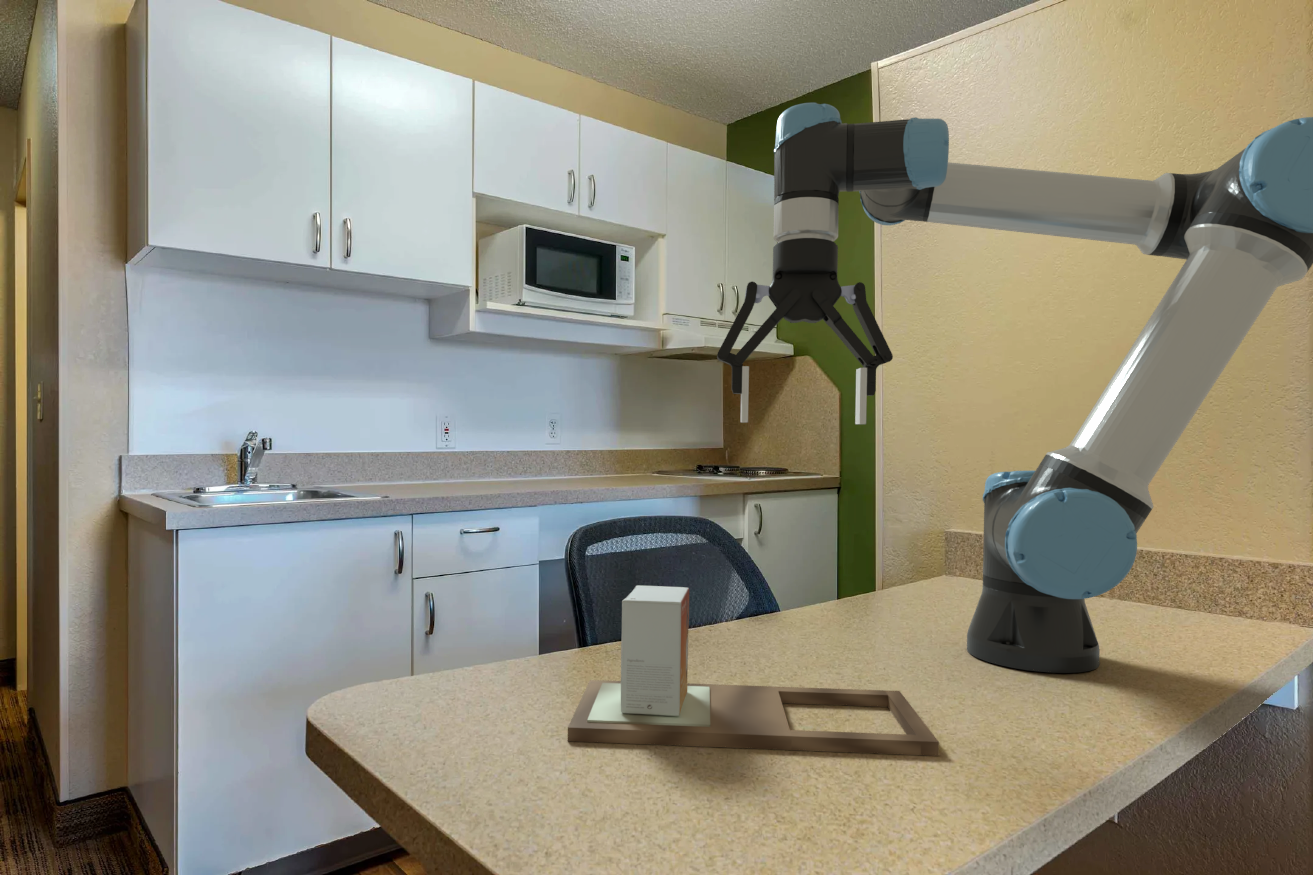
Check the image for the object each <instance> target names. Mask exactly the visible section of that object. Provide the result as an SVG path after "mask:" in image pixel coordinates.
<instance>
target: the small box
mask: <svg viewBox="0 0 1313 875" xmlns="http://www.w3.org/2000/svg"><path fill="white" fill-rule="evenodd" d="M689 620H690V588H689V587H683V586H665V585H664V586H661V585H659V586H658V585H635V587H634V588H633V590H632V591H631V592H630V593H629V594H628V595H627V596H626V597H625V598H624V599H622V601H621V643H620V644H621V645H620V646H621V647H620V648H621V652H620V654H621V655H620V661H621V662H620V681H621V713H630V714H648V715H667V716H679V715H680V712H681V708H682V705H683V702H684V699H685V696H686V694H687V683H688V669H689V666H688V665H689V664H688V663H689V662H688V660H689V624H690V623H689V622H690V621H689Z"/></svg>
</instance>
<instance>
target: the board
mask: <svg viewBox="0 0 1313 875" xmlns="http://www.w3.org/2000/svg"><path fill="white" fill-rule="evenodd" d="M783 704H794V705H795V704H797V705H801V704H802V705H821V706H823V705H827V706H851V707H853V706H855V707H856V706H857V707H877V708H878V707H880V708H883V707H884V708H885V707H886V708H888V709H889V711H890V712H891V714H892V715H893V717H894V718H895V720H896V721H897V722H898V724H899V725H900V727H901V729H902V730H903V731H904V733H905V734H903V733H901V734H900V733H876V732H856V731H855V732H852V731H851V732H850V731H826V730H825V731H824V730H823V731H822V730H799V729H790V726H789V723H788V719H787V715H786V713H785V712H786V711H785V709H784V706H783ZM567 742H578V743H579V742H580V743H583V742H584V743H603V744H604V743H607V744H608V743H609V744H610V743H611V744H629V745H630V744H632V745H636V744H637V745H652V746H653V745H656V746H657V745H658V746H679V747H680V746H682V747H704V748H705V747H706V748H731V749H732V748H733V749H752V750H753V749H758V750H759V749H760V750H779V751H781V750H782V751H804V752H805V751H807V752H831V753H832V752H833V753H853V754H855V753H856V754H857V753H858V754H859V753H860V754H878V755H880V754H881V755H884V754H885V755H903V756H905V755H908V756H909V755H910V756H929V757H931V756H932V757H934V756H935V757H939V756H940V755H939V753H940V752H939V751H940V747H939V746H940V745H939V744H940V742H939V740H938V739H937V738H936V736H935V735H934V734H933V733H932V731H931V730H930V729H929V727H928V726H927V725H926V723H925V722H924V720H922V718H921V716H919V713H917V712H916V710H915V709H914V707H913V706H912V705H911V704H910V702H909V701H908V700H907V698H906V697H905V696H904V695H903V693H902V692H901V690H882V689H881V690H878V689H854V688H853V689H852V688H826V687H825V688H824V687H823V688H822V687H797V686H796V687H795V686H794V687H793V686H773V685H772V686H770V685H769V686H767V685H764V686H763V685H744V684H743V685H741V684H740V685H739V684H719V683H717V684H713V683H688V682H687V694H686V696H685V699H684V702H683V705H682V708H681V712H680V715H679V716H667V715H648V714H630V713H621V680H606V679H605V680H603V679H602V680H601V679H600V680H599V679H589V681H588V683H587V686H586V687H585V689H584V691H583V694H582V696H581V699H580V700H579V702H578V705H577V706H576V709H575V711H574V713H573V715H572V717H571V720H570V722H569V724H568V725H567Z"/></svg>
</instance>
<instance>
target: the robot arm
mask: <svg viewBox="0 0 1313 875" xmlns="http://www.w3.org/2000/svg"><path fill="white" fill-rule="evenodd" d="M842 122H843V121H842V119H841V114H840V111H839V110H838V109H837V108H836V107H835V106H833V105H831V104H828V103H821V104H820V103H817V102H804V103H799V104H795V105H792V106H790V107H788V108H787V109H785V110H784V111H782V113H781V114H780V115H779V117H778V118H777V122H776V129H775V130H776V131H775V144H774V149H773V155H774V156H773V158H774V159H773V161H774V164H773V165H774V169H773V170H774V176H773V178H774V180H773V181H774V184H773V185H774V187H773V190H774V191H773V192H774V195H773V196H774V197H773V201H774V202H773V240H774V241H775V242H776V243H775V245H774V246H773V247H772V280H771V284H770V285H765V284H757V283H756V282H755V281H749V282H748V283H747V285H746V288H745V294H744V301H743V304H742V306H741V307H740V308H739V311H738V313H737V315H736V317H735V319H734V321H733V323H732V325H731V326H730V329H729V330H728V332H727V334H726V337H725V338H724V340H723V342H722V344H721V346H720V348H719V350H718V352H717V356H716V358H717V360H718V362H722V363H724V364H727V365H729V366H730V367H731V391H732V394H735V395H740V423H749V395H750V394H749V393H750V392H749V391H750V390H749V388H750V387H749V384H750V382H749V381H750V379H749V378H750V377H749V376H750V366H747V365H745V366H744V365H743V364H744V362H745V361H746V360H747V359H748V358H749V356H751V354H753V352H754V351H755V350H756V348H758V347H759V345H760V344H761V343H762V342H763V341H764V340H765V339H766V337H767V336H768V335H769V334H770V333H771V332H772V331H773V329H774V328H775V327H776V326H778V324H779V323H780V322H781V321H782V319H784V320H785V321H787V322H789V323H791V324H797V323H801V322H805V323H808V324H816V323H818V322H821V321H822V320H823V321H824V323H825V324H826V325H827V327H830V328H831V330H832V331H833V332H834V333H835V335H836V336H837V337H838V338H839V340H840V341H841V342H842V343H843V344H844V345H845V346H846V348H847V349H848V350H849V351H850V352H851V353H852V355H853V357H855V358H856V360H857V361H858V362H859V363H860V364H861V365H862V367H859V368H856V369H855V370H856V371H855V410H854V411H855V412H854V416H855V418H854V419H855V420H854V424H855V425H867V405H868V404H867V403H868V402H867V399H868V398H867V397H872V396H874V395H875V393H876V392H877V388H876V385H877V369H878V367H879V366H882V365H884V364H887V363H889V362H891V361H892V360H893V357H894V356H893V353H892V350H891V349H890V347H889V344H888V342H887V341H886V339H885V337H884V334H883V332H882V331H881V328H880V326H879V324H878V321H877V320H876V318H875V315H874V313H873V312H872V309H871V308H870V306H869V304H868V301H867V293H866V285H865V283H863V282H861V281H860V282H857V283H855V284H854V285H852V284H851V285H843V286H841V285H840V283H839V280H838V265H839V264H838V263H839V262H838V261H839V260H838V257H839V256H838V255H839V254H838V252H839V251H838V250H839V246H838V244H837V243H836V242H835V241H836V240H837V239H838V238H839V196H840V195H839V194H840V192H847V193H848V192H859V196H860V198H859V199H860V203H861V205H862V208H863V210H864V213H865V214H866V216H867V217H868V218H869V219H870V220H871V221H873V223H876V224H879V225H882V226H895V225H898V224H901V223H903V222H905V221H911V222H913V221H914V222H926V223H933V224H940V225H941V224H943V225H950V226H951V225H952V226H953V225H954V226H961V227H970V228H980V229H988V230H997V231H1004V232H1005V231H1006V232H1007V231H1008V232H1016V233H1024V234H1026V233H1027V234H1034V235H1035V234H1036V235H1043V236H1052V237H1061V238H1070V239H1080V240H1090V241H1098V242H1099V241H1100V242H1107V243H1116V244H1117V243H1118V244H1126V245H1135V246H1137V248H1138V249H1139V251H1140V252H1141V253H1142V254H1143V255H1147V256H1155V257H1164V258H1171V259H1172V258H1173V259H1181V260H1185V262H1184V263H1183V264H1182V266H1181V268H1180V270H1179V271H1178V273H1177V275H1176V276H1175V277H1174V279H1173V281H1172V282H1171V284H1170V285H1169V287H1168V289H1167V290H1166V292H1165V294H1164V295H1163V297H1162V298H1161V300H1160V301H1159V303H1158V305H1157V306H1156V307H1155V309H1154V311H1153V312H1152V313H1151V316H1150V317H1149V318H1148V320H1147V321H1146V324H1145V325H1144V327H1143V328H1142V330H1141V331H1140V332H1139V334H1138V336H1137V337H1136V339H1135V341H1134V342H1133V344H1132V345H1131V347H1130V349H1129V351H1128V352H1127V353H1126V354H1125V356H1124V358H1123V360H1122V361H1121V363H1120V365H1119V366H1118V368H1117V369H1116V370H1115V373H1114V374H1113V375H1112V377H1111V379H1110V380H1109V382H1108V384H1107V385H1106V386H1105V388H1104V390H1103V391H1102V393H1101V394H1100V397H1099V398H1098V399H1097V400H1096V403H1095V404H1094V405H1093V407H1092V409H1091V411H1089V413H1088V415H1087V417H1086V418H1085V419H1084V422H1083V423H1082V424H1081V426H1080V428H1079V430H1078V431H1076V432H1077V433H1076V434H1075V436H1074V437H1073V439H1072V441H1070V444H1069V445H1067V446H1066V447H1063V448H1059V449H1055V450H1052V451H1047V452H1046V453H1045V455H1044V457H1043V458H1042V460H1041V462H1040V463H1039V465H1038V466H1037V467H1036V468H1035V470H1013V471H998V472H995V473H991V474H990V475H989V476H988V477H987V478H986V480H985V484H984V491H983V494H982V502H983V504H984V505H983V508H984V510H983V547H982V548H983V550H982V551H983V552H982V554H983V555H982V590H981V594H980V598H979V600H978V602H977V606H976V608H975V611H974V612H973V613H974V614H973V616H972V619H971V622H970V623H969V627H968V629H967V632H966V633H967V634H966V651H967V652H968V654H970V655H971V656H973V657H975V658H977V659H980V660H983V661H985V662H988V663H990V664H991V663H992V664H994V665H999V666H1002V667H1007V668H1012V669H1018V670H1022V671H1023V670H1024V671H1030V672H1039V673H1040V672H1041V673H1055V674H1057V673H1058V674H1075V673H1085V672H1089V671H1094V670H1095V669H1097V668H1099V667H1100V650H1101V649H1100V643H1099V641H1098V638H1097V636H1096V632H1095V629H1094V626H1093V622H1092V620H1091V617H1090V614H1089V610H1088V608H1087V605H1086V600H1087V599H1091V598H1094V597H1097V596H1100V595H1102V594H1105V593H1107V592H1109V591H1111V590H1113V589H1115V587H1117V586H1118V585H1119V584H1120V583H1121V582H1122V581H1123V580H1124V579H1125V578H1126V577H1127V575H1128V574H1129V573H1130V571H1131V569H1132V567H1133V566H1134V564H1135V560H1136V557H1137V552H1138V537H1137V536H1138V535H1137V533H1138V532H1139V531H1140V529H1141V527H1142V526H1143V524H1144V523H1145V521H1146V520H1147V518H1148V517H1149V515H1150V514H1151V512H1152V511H1153V509H1154V503H1153V501H1152V497H1151V494H1150V491H1149V486H1150V483H1151V482H1152V480H1153V479H1154V477H1155V476H1156V475H1157V472H1158V471H1159V470H1160V468H1161V466H1162V465H1163V463H1164V462H1165V460H1166V459H1167V457H1168V456H1169V454H1170V452H1171V451H1172V450H1173V448H1174V446H1175V445H1176V444H1177V442H1178V440H1179V439H1180V438H1181V436H1182V434H1183V433H1184V431H1185V430H1186V428H1187V427H1188V425H1189V423H1190V422H1191V420H1192V419H1193V418H1194V416H1195V414H1196V412H1197V411H1198V409H1199V408H1200V407H1201V405H1202V403H1203V402H1204V401H1205V399H1206V398H1207V396H1208V394H1209V393H1210V391H1211V390H1212V388H1213V387H1214V384H1216V382H1217V380H1218V379H1219V377H1220V376H1221V374H1222V373H1223V372H1224V370H1225V368H1226V367H1227V365H1228V363H1229V362H1230V361H1231V359H1232V357H1233V356H1234V354H1235V353H1236V351H1237V349H1239V347H1240V345H1241V344H1242V341H1244V339H1245V337H1246V336H1247V335H1248V332H1249V331H1250V330H1251V328H1252V326H1253V325H1254V323H1255V322H1256V321H1257V319H1258V317H1259V316H1260V315H1261V313H1262V312H1263V310H1264V308H1265V307H1266V306H1267V304H1268V302H1269V301H1270V299H1271V297H1272V296H1273V294H1274V293H1275V291H1276V290H1277V288H1278V287H1282V286H1286V285H1287V284H1291V283H1292V284H1293V283H1296V282H1299V281H1300V280H1302V279H1303V278H1304V277H1305V276H1306V274H1307V273H1308V271H1309V270H1310V269H1311V267H1312V266H1313V116H1308V117H1307V116H1305V117H1299V118H1295V119H1292V120H1288V121H1285V122H1283V123H1280V124H1278V125H1277V126H1274V127H1273V128H1270V129H1267V130H1264V131H1263V132H1262V133H1260V134H1259V135H1257V136H1255V137H1254V138H1253V140H1252V141H1251V142H1250V143H1248V144H1247V146H1246V147H1245V148H1244V149H1242V150H1241V151H1240V152H1238V153H1237V154H1235V155H1234V156H1232V157H1231V158H1230V159H1228V160H1227V161H1226V162H1224V163H1222V165H1220V166H1219V167H1217V168H1215V169H1213V170H1212V169H1211V170H1209V171H1204V172H1197V173H1171V172H1165V173H1163V174H1161V175H1160V176H1159V177H1157V178H1155V179H1153V180H1150V179H1138V178H1125V177H1118V176H1117V177H1116V176H1104V175H1092V174H1080V173H1071V172H1068V173H1067V172H1059V171H1048V170H1039V169H1024V168H1016V167H1015V168H1014V167H1003V166H993V165H980V164H970V163H960V162H959V163H958V162H949V153H950V152H949V151H950V150H949V149H950V148H949V147H950V135H949V134H950V133H949V126H948V124H947V122H946V121H945V120H944V119H942V118H919V117H911V118H909V119H894V120H883V121H871V122H861V123H860V122H859V123H847V122H845V123H842ZM767 296H768V298H769V300H770V301H771V303H772V304H773V305H774V306H775V309H774V311H773V312H772V313H771V314H770V315H769V317H768V318H767V319H766V320H765V321H764V322H763V323H762V325H761V326H760V327H759V328H758V329H757V330H756V331H755V332H754V334H753V335H751V337H750V338H749V339H748V340H747V342H746V343H744V345H743V346H742V347H741V349H740V350H738V352H737V353H733V352H731V351H732V349H733V347H734V345H735V344H736V342H737V340H738V337H739V336H740V334H741V332H742V330H743V328H744V326H745V324H746V323H747V320H748V318H749V316H750V314H751V313H752V311H753V309H754V306H755V304H759V303H761V302H762V300H763V299H764V297H767ZM841 297H843V298H844V299H845V302H846V303H847V304H849V305H852V308H853V312H854V313H855V316H856V317H857V320H858V322H859V323H860V326H861V329H862V330H863V332H864V334H865V335H866V336H865V337H866V339H867V340H868V342H869V345H870V346H871V348H872V351H873V353H874V354H875V355H873V354H872V352H871V351H870V350H869V348H868V347H867V346H866V345H865V344H864V343H863V341H862V340H861V339H860V338H859V336H857V334H856V332H854V330H853V329H852V328H851V327H850V326H849V325H848V324H847V322H846V321H845V320H844V319H843V317H842V314H840V312H839V311H838V310H837V308H836V307H834V305H835V304H836V303H837V302H838V300H839V299H840V298H841ZM1085 599H1086V600H1085Z"/></svg>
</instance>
